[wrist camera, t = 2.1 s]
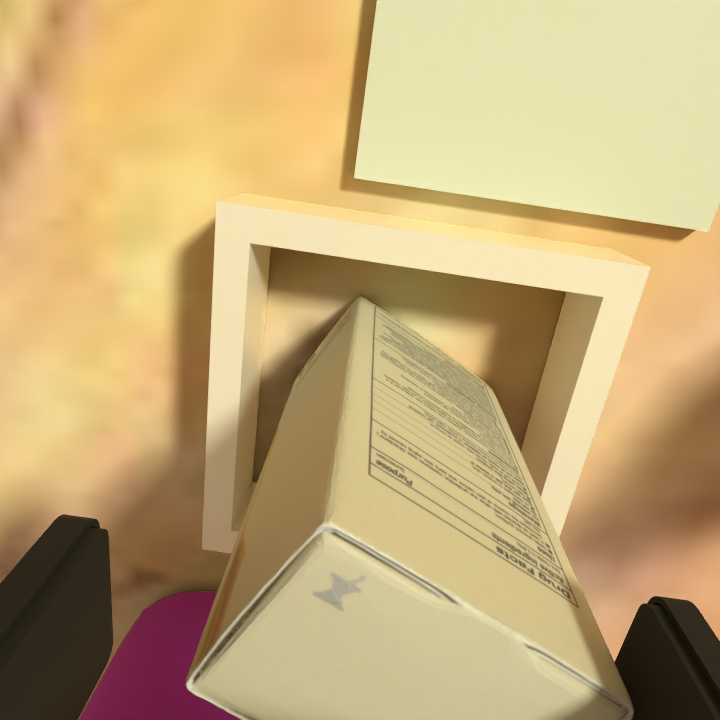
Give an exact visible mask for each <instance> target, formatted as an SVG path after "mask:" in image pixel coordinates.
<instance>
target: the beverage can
mask: <svg viewBox="0 0 720 720" xmlns="http://www.w3.org/2000/svg"><path fill="white" fill-rule="evenodd" d="M217 592H218V591H194V592H183V593H179V594H176V595H172V596H168V597H164V598H161V599H160V600H158V601H157V602H155V603H154V604H152V605H151V606H149V607H148V608H146V609H145V610H143V612H142V613H141V615H140V616H139V617H138V619H137V620H136V622H135V623H134V625H133V626H132V628H131V629H130V631H129V632H128V633H127V635H126V636H125V638H124V639H123V641H122V643H121V645H120V646H119V648H118V650H117V652H116V654H115V655H114V657H113V659H112V661H111V663H110V664H109V666H108V668H107V670H106V672H105V673H104V675H103V677H102V679H101V680H100V682H99V684H98V686H97V688H96V689H95V691H94V693H93V695H92V697H91V698H90V700H89V702H88V704H87V706H86V707H85V709H84V711H83V713H82V715H81V716H80V718H79V720H241V719H240V718H238V717H236V716H234V715H232V714H230V713H228V712H227V711H225V710H224V709H221V708H219V707H217V706H216V705H214V704H213V703H211V702H209V701H207V700H205V699H203V698H201V697H199V696H197V695H195V694H193V693H192V692H190V691H189V690H188V689H187V687H186V678H187V676H188V673H189V670H190V667H191V665H192V662H193V659H194V657H195V654H196V651H197V648H198V645H199V642H200V639H201V636H202V633H203V631H204V628H205V625H206V623H207V620H208V617H209V614H210V611H211V608H212V605H213V603H214V600H215V597H216V594H217Z"/></svg>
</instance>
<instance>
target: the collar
mask: <svg viewBox="0 0 720 720" xmlns="http://www.w3.org/2000/svg"><path fill="white" fill-rule="evenodd" d="M271 246H272V247H278V248H285V249H291V250H298V251H304V252H311V253H318V254H324V255H331V256H337V257H344V258H350V259H357V260H363V261H370V262H377V263H383V264H390V265H396V266H403V267H409V268H416V269H422V270H429V271H436V272H442V273H449V274H455V275H462V276H468V277H475V278H481V279H488V280H495V281H501V282H508V283H514V284H521V285H527V286H534V287H540V288H547V289H554V290H560V291H566V295H565V298H564V302H563V305H562V309H561V312H560V316H559V319H558V323H557V326H556V330H555V333H554V337H553V340H552V344H551V347H550V351H549V354H548V358H547V361H546V365H545V368H544V372H543V375H542V379H541V382H540V386H539V389H538V392H537V396H536V399H535V403H534V406H533V410H532V413H531V417H530V420H529V424H528V427H527V431H526V434H525V438H524V441H523V445H522V448H521V454H522V456H523V459H524V461H525V463H526V466H527V468H528V470H529V472H530V475H531V477H532V479H533V481H534V484H535V486H536V488H537V490H538V493H539V495H540V497H541V499H542V501H543V504H544V506H545V508H546V510H547V513H548V515H549V517H550V519H551V522H552V524H553V526H554V528H555V531H556V533H557V535H558V537H560V534H561V531H562V528H563V525H564V522H565V519H566V516H567V513H568V510H569V507H570V504H571V501H572V499H573V496H574V493H575V490H576V487H577V484H578V481H579V478H580V475H581V472H582V469H583V466H584V463H585V460H586V457H587V454H588V451H589V448H590V445H591V443H592V440H593V437H594V434H595V431H596V428H597V425H598V422H599V419H600V416H601V413H602V410H603V407H604V404H605V401H606V398H607V395H608V392H609V389H610V386H611V384H612V381H613V378H614V375H615V372H616V369H617V366H618V363H619V360H620V357H621V354H622V351H623V348H624V345H625V342H626V339H627V336H628V333H629V330H630V328H631V325H632V322H633V319H634V316H635V313H636V310H637V307H638V304H639V301H640V298H641V295H642V292H643V289H644V286H645V283H646V280H647V277H648V274H649V272H650V269H651V267H649V266H647V265H645V264H643V263H640V262H638V261H636V260H634V259H632V258H630V257H628V256H625V255H623V254H621V253H619V252H617V251H615V250H613V249H610V248H603V247H597V246H590V245H583V244H577V243H570V242H564V241H557V240H551V239H544V238H537V237H531V236H524V235H518V234H511V233H504V232H498V231H491V230H485V229H478V228H472V227H465V226H458V225H452V224H445V223H439V222H432V221H426V220H419V219H412V218H406V217H399V216H393V215H386V214H379V213H373V212H366V211H360V210H353V209H347V208H340V207H333V206H327V205H320V204H314V203H307V202H301V201H294V200H287V199H281V198H274V197H268V196H261V195H254V194H248V193H243V194H239V195H236V196H233V197H229V198H226V199H222V200H219V201H216V222H215V245H214V269H213V293H212V317H211V340H210V364H209V388H208V411H207V435H206V459H205V482H204V506H203V530H202V549H203V550H210V551H216V552H222V553H229V554H231V553H232V550H233V547H234V544H235V542H236V539H237V536H238V533H239V531H240V528H241V525H242V522H243V520H244V517H245V514H246V511H247V508H248V506H249V503H250V501H251V498H252V495H253V492H254V490H255V487H256V485H257V482H252V478H253V466H254V454H255V441H256V429H257V416H258V404H259V391H260V379H261V366H262V354H263V341H264V329H265V316H266V304H267V291H268V279H269V266H270V254H271Z"/></svg>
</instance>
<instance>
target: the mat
mask: <svg viewBox="0 0 720 720" xmlns="http://www.w3.org/2000/svg"><path fill="white" fill-rule="evenodd" d="M354 178H357V179H364V180H370V181H377V182H384V183H390V184H397V185H403V186H410V187H417V188H423V189H430V190H436V191H443V192H450V193H456V194H463V195H469V196H476V197H483V198H489V199H496V200H502V201H509V202H516V203H522V204H529V205H535V206H542V207H549V208H555V209H562V210H568V211H575V212H582V213H588V214H595V215H601V216H608V217H615V218H621V219H628V220H634V221H641V222H647V223H654V224H661V225H667V226H674V227H680V228H687V229H694V230H700V231H707V232H709V230H710V227H711V224H712V222H713V219H714V216H715V213H716V211H717V208H718V205H719V203H720V0H377V4H376V11H375V19H374V27H373V34H372V42H371V50H370V58H369V65H368V73H367V81H366V88H365V96H364V104H363V112H362V119H361V127H360V135H359V142H358V150H357V158H356V166H355V173H354Z"/></svg>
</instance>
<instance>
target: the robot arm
mask: <svg viewBox="0 0 720 720" xmlns="http://www.w3.org/2000/svg"><path fill="white" fill-rule="evenodd" d="M112 646H113V627H112V604H111V581H110V558H109V536H108V531H107V530H106V529H100V525H99V522H98V520H97V519H92V518H85V517H78V516H70V515H61V516H59V517H58V518H57V519H56V520H55V521H54V522H53V523H52V524H51V525H50V526H49V528H48V529H47V530H46V531H45V532H44V533H43V535H42V536H41V537H40V538H39V539H38V540H37V542H36V543H35V544H34V545H33V546H32V547H31V549H30V550H29V551H28V552H27V553H26V554H25V556H24V557H23V558H22V559H21V560H20V561H19V563H18V564H17V565H16V566H15V567H14V568H13V570H12V571H11V572H10V573H9V574H8V575H7V577H6V578H5V579H4V580H3V581H2V582H1V584H0V720H78V718H79V716H80V714H81V712H82V710H83V709H84V707H85V705H86V703H87V701H88V699H89V697H90V695H91V693H92V691H93V689H94V688H95V686H96V684H97V682H98V680H99V678H100V676H101V674H102V672H103V670H104V668H105V667H106V664H107V662H108V660H109V657H110V654H111V651H112ZM615 665H616V667H617V670H618V672H619V674H620V676H621V678H622V681H623V683H624V685H625V687H626V690H627V692H628V694H629V696H630V699H631V702H632V705H633V708H634V714H633V718H632V719H631V720H720V641H719V640H718V638H717V637H716V635H715V634H714V632H713V631H712V629H711V628H710V626H709V625H708V623H707V622H706V620H705V619H704V617H703V616H702V614H701V613H700V611H699V610H698V608H697V607H696V606H695V605H694V604H693V603H692V602H690V601H688V600H680V599H673V598H666V597H659V596H654V597H652V598H651V599H650V600H649V602H648V603H647V604H642V605H641V606H640V607H639V609H638V611H637V613H636V615H635V618H634V620H633V622H632V624H631V627H630V629H629V631H628V633H627V636H626V638H625V640H624V643H623V645H622V647H621V649H620V652H619V654H618V656H617V658H616V661H615Z"/></svg>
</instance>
